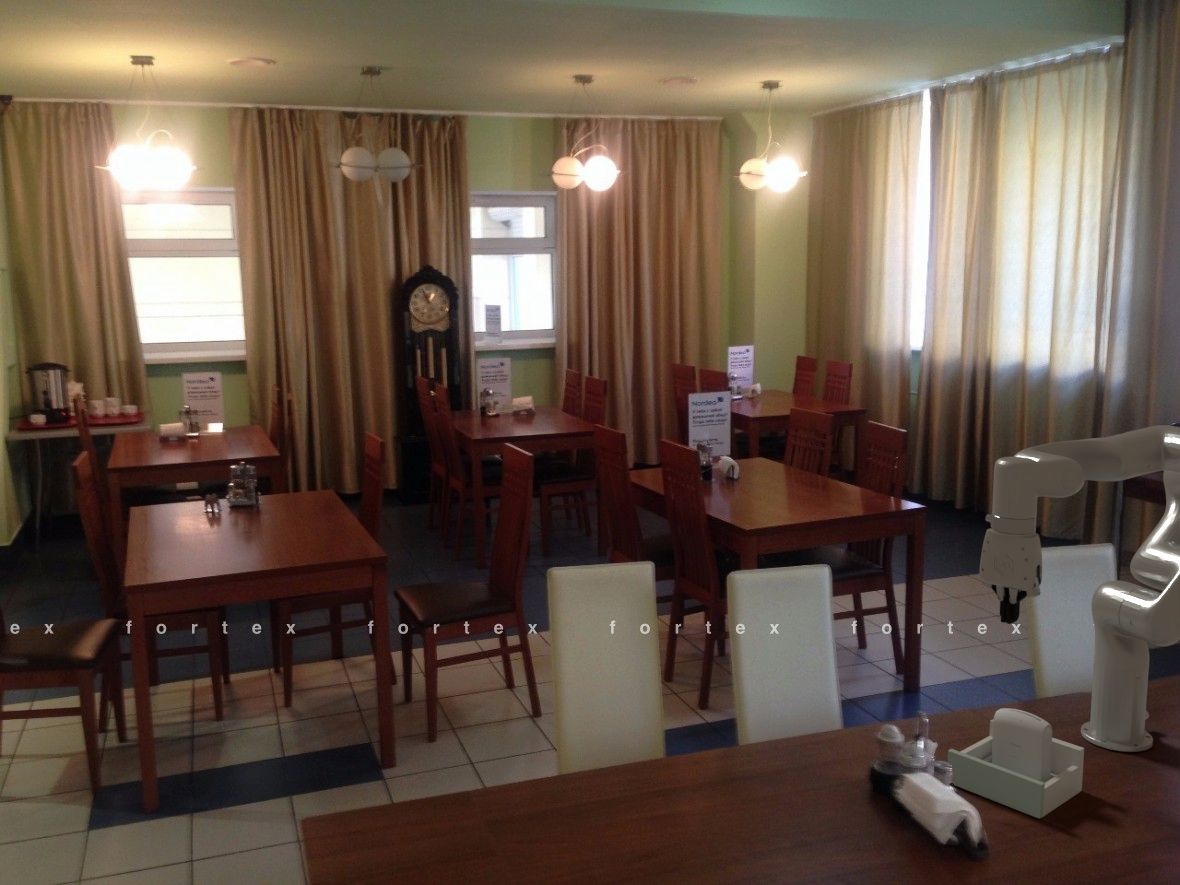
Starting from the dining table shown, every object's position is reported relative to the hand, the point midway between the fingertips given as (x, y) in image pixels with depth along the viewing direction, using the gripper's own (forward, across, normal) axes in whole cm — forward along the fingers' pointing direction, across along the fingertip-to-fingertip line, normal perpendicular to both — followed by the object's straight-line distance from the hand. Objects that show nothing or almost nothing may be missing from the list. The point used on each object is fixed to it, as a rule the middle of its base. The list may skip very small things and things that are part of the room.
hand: (1009, 621), depth 190 cm
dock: (+27, +7, -8) cm, 29 cm away
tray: (+27, +7, -10) cm, 29 cm away
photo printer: (+26, +7, -7) cm, 28 cm away
